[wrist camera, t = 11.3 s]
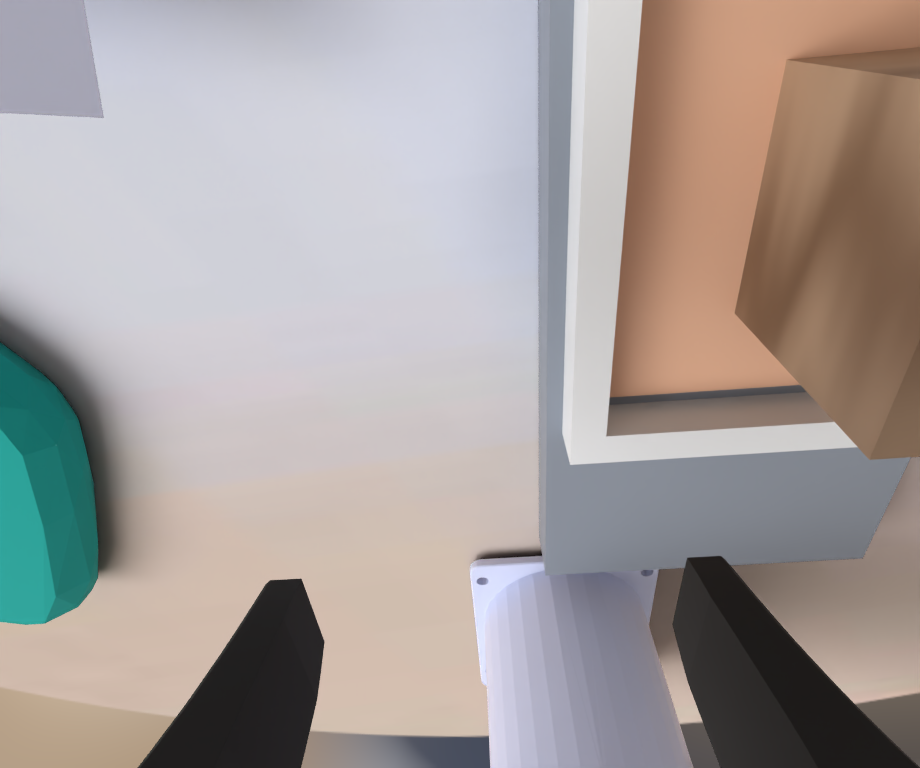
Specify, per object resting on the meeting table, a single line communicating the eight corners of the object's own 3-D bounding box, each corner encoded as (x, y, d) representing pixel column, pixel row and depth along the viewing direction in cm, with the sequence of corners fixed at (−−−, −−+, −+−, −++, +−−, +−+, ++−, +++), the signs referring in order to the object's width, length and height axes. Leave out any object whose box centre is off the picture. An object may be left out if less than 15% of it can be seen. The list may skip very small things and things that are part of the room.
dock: (833, 518, 23) (887, 592, 20) (539, 535, 23) (550, 609, 21) (1227, -445, 10) (1555, -639, 7) (537, -362, 10) (570, -511, 7)
